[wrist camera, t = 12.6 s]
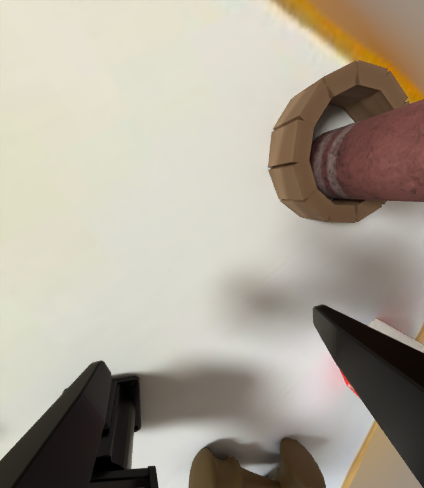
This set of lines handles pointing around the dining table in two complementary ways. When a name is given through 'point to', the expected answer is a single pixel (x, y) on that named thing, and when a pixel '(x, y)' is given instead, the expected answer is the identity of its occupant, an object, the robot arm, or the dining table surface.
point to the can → (373, 157)
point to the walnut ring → (301, 133)
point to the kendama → (250, 484)
